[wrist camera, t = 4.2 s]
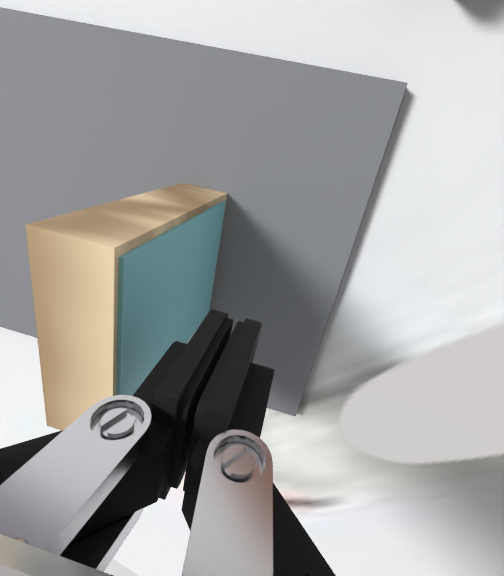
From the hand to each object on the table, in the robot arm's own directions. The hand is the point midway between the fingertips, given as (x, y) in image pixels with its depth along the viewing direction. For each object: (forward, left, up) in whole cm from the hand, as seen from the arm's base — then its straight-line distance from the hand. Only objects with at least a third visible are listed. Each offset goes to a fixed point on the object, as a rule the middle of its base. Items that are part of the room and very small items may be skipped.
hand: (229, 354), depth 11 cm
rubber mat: (+8, 0, -9) cm, 12 cm away
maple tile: (+4, 0, -8) cm, 9 cm away
